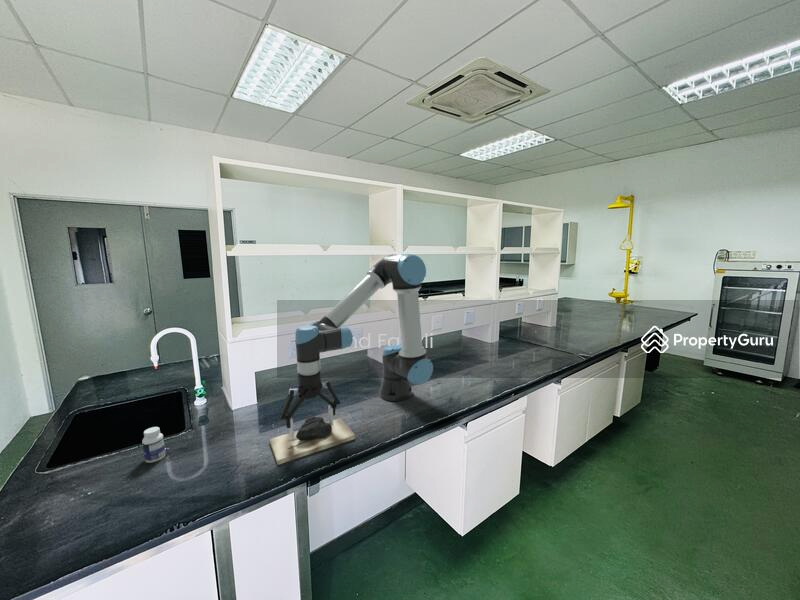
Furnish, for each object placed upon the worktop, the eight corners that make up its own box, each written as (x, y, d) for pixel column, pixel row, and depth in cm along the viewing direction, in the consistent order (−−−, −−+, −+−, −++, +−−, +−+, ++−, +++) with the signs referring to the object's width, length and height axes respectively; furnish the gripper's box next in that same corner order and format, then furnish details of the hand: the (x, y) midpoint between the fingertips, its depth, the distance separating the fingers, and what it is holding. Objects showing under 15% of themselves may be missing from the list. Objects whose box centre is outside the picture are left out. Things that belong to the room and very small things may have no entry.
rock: (333, 430, 117) (308, 422, 118) (335, 418, 114) (309, 410, 116) (321, 453, 107) (294, 444, 108) (323, 440, 105) (295, 431, 106)
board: (340, 421, 124) (340, 418, 124) (355, 438, 112) (354, 434, 112) (269, 442, 110) (269, 438, 110) (277, 464, 99) (277, 460, 98)
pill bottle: (143, 458, 103) (139, 429, 102) (164, 450, 107) (160, 423, 105) (145, 465, 99) (142, 436, 98) (166, 457, 103) (163, 429, 102)
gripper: (339, 361, 118) (342, 415, 120) (267, 375, 104) (272, 435, 107) (347, 367, 111) (349, 424, 114) (272, 383, 98) (276, 446, 101)
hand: (312, 430), depth 111 cm, fingers open, 13 cm apart
